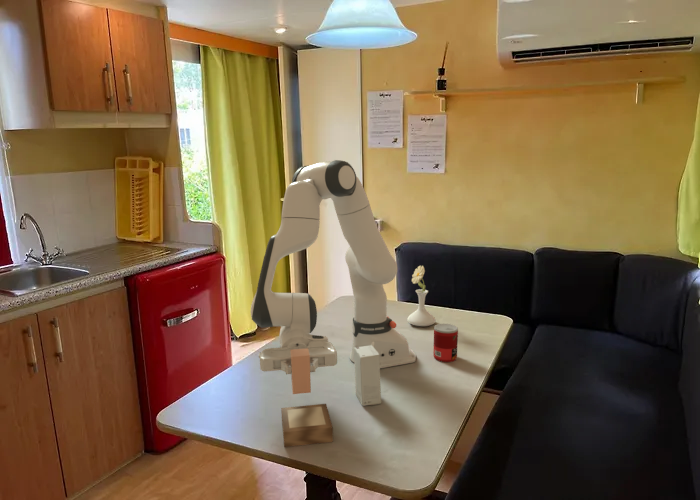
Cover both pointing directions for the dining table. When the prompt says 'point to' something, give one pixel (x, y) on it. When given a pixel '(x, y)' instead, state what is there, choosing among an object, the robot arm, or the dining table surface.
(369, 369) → the skincare box
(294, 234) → the robot arm
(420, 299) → the flower in vase
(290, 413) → the plinth
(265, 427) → the dining table surface
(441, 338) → the canned food
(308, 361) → the terracotta block
